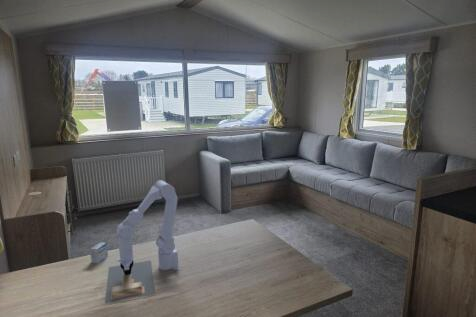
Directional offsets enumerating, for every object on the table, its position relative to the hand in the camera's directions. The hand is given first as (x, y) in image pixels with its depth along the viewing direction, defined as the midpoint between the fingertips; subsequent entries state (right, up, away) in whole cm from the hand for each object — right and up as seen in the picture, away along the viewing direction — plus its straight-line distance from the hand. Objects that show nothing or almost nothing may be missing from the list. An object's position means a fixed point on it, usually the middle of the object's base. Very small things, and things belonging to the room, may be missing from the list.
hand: (128, 276), depth 144 cm
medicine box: (-21, +1, +17) cm, 27 cm away
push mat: (+1, -2, -1) cm, 3 cm away
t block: (+2, -2, -7) cm, 8 cm away
